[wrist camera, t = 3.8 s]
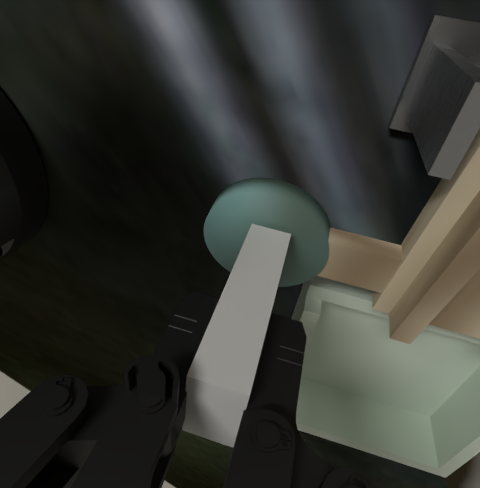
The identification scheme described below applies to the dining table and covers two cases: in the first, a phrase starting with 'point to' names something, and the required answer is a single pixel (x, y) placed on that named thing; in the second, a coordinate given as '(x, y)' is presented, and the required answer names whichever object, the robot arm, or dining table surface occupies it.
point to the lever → (371, 249)
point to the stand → (442, 94)
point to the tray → (386, 382)
